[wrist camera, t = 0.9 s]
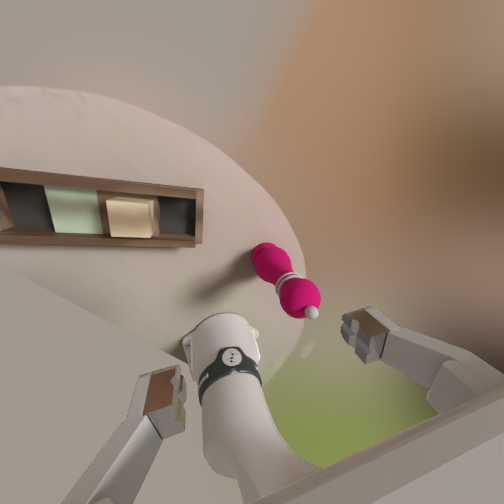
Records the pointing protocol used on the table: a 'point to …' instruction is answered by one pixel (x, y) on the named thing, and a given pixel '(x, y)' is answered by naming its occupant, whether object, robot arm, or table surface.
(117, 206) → the maple block
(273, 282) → the pepper mill
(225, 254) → the table surface
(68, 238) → the tray
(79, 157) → the table surface
